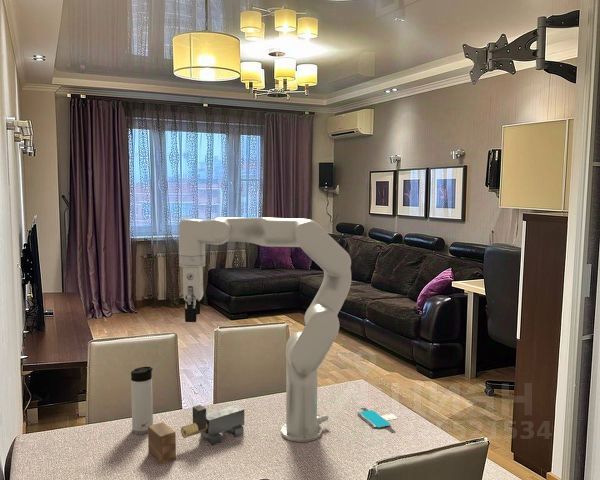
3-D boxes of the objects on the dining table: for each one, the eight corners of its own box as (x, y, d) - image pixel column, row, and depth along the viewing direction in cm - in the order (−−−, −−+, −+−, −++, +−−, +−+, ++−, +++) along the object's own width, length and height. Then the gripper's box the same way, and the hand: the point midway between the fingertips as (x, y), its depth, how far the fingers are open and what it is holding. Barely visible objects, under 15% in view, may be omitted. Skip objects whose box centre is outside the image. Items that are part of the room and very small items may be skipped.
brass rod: (232, 418, 168) (232, 395, 167) (239, 422, 165) (238, 398, 164) (180, 435, 156) (180, 410, 155) (186, 439, 153) (186, 414, 153)
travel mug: (148, 435, 163) (146, 372, 161) (128, 433, 165) (126, 370, 163) (157, 426, 169) (156, 365, 167) (138, 424, 171) (137, 364, 169)
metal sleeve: (233, 426, 170) (233, 403, 170) (246, 433, 165) (246, 410, 164) (199, 437, 162) (198, 413, 162) (210, 446, 157) (210, 421, 156)
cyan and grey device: (412, 430, 169) (412, 425, 169) (379, 437, 165) (379, 431, 164) (379, 406, 187) (379, 402, 187) (349, 411, 183) (349, 407, 183)
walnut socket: (163, 448, 155) (162, 422, 154) (175, 459, 149) (175, 431, 148) (148, 453, 152) (147, 426, 152) (160, 464, 146) (160, 436, 146)
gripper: (202, 265, 149) (202, 325, 150) (207, 257, 166) (208, 311, 168) (174, 265, 148) (175, 325, 150) (183, 257, 165) (184, 311, 167)
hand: (192, 317), depth 159 cm, fingers open, 9 cm apart
